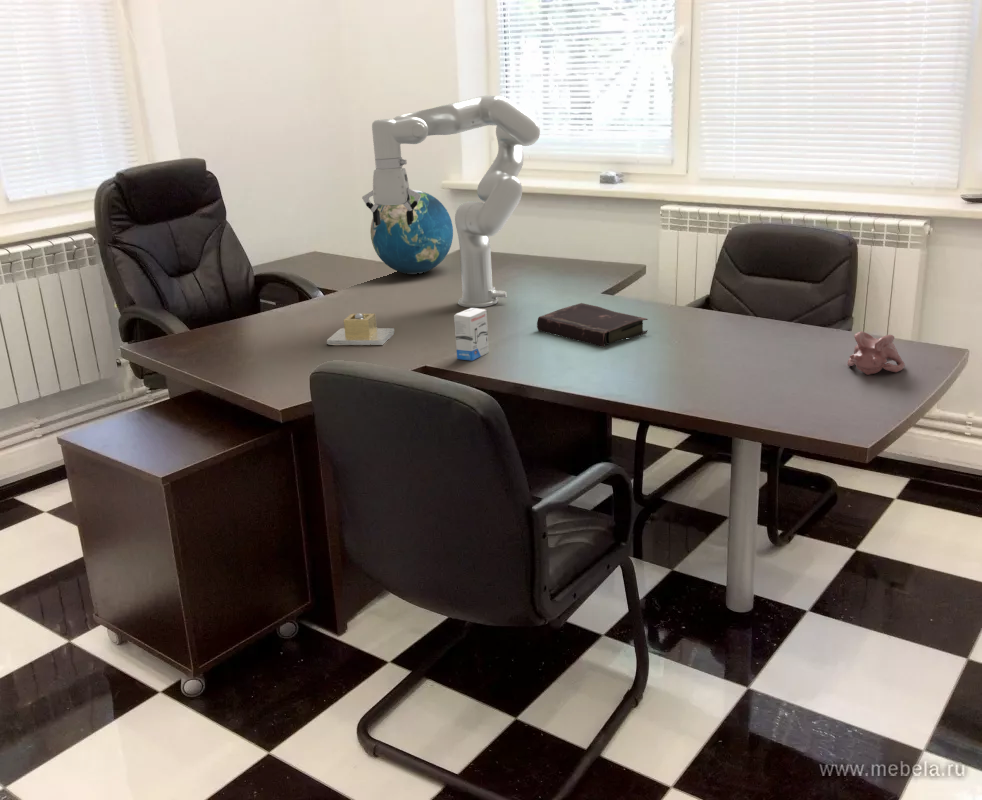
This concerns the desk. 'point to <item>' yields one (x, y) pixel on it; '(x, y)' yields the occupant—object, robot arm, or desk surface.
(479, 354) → the ink box
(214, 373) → the desk surface
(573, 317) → the diary
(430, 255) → the globe
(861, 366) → the figurine
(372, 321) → the tan block
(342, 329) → the post block
